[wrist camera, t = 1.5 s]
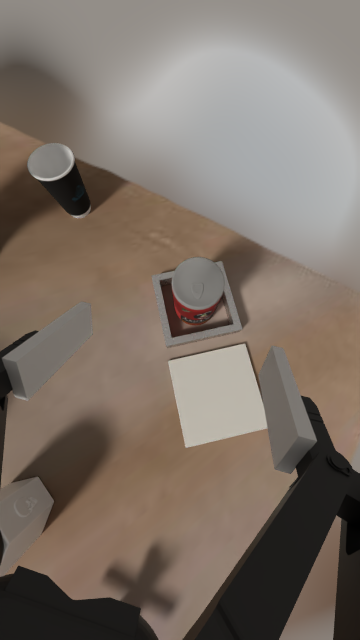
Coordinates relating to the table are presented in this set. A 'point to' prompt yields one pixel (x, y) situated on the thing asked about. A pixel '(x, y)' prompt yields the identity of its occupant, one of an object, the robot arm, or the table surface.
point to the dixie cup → (60, 177)
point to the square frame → (203, 335)
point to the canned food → (197, 289)
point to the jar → (21, 518)
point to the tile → (217, 395)
